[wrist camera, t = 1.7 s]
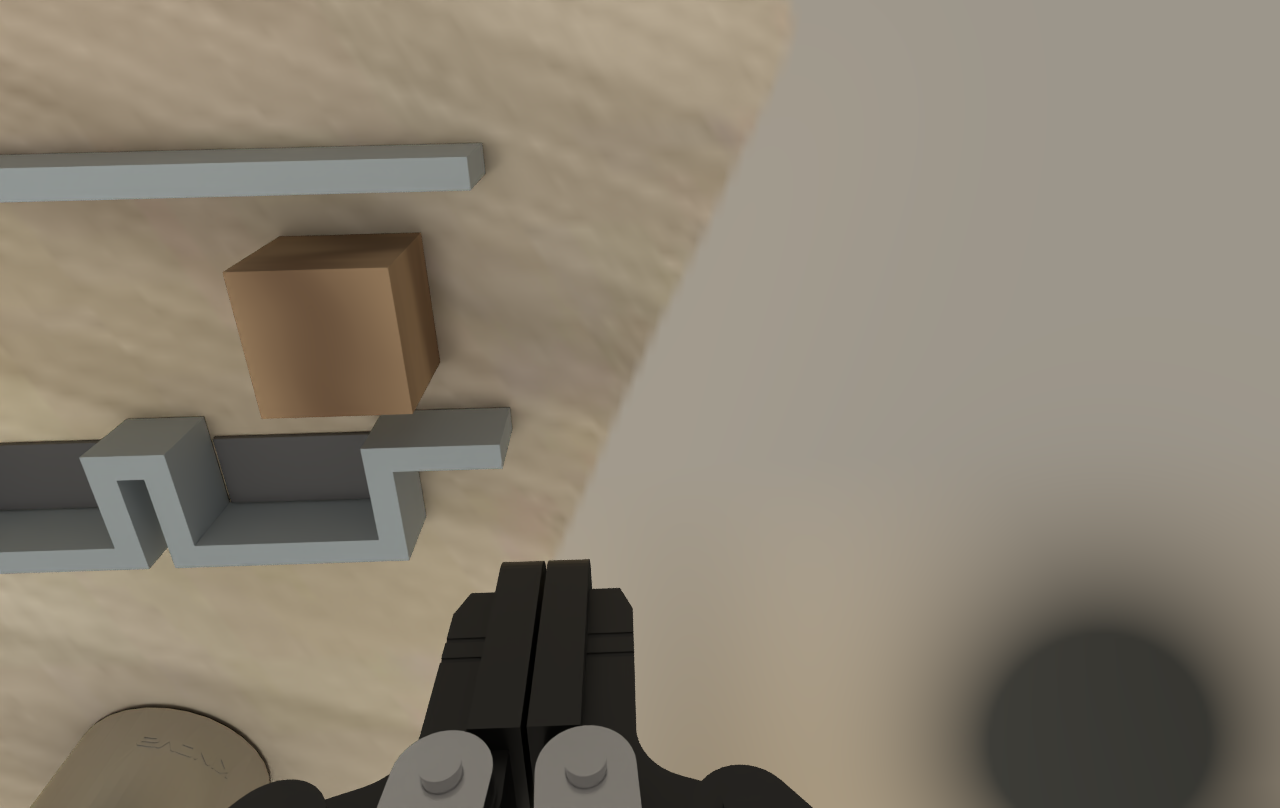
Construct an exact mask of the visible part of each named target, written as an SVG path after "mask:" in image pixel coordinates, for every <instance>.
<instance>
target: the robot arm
mask: <svg viewBox="0 0 1280 808" xmlns="http://www.w3.org/2000/svg"><path fill="white" fill-rule="evenodd" d="M633 640H634V638H633V609H632V607H631V605H630V603H629V602H628V600H627V599H626V597H625V595H624V594H623V592H622V591H621V589H620V588H608V589H592V580H591V565H590V559H584V560H554V561H548V564H547V571H546V564H545V561H529V562H503V563H502V565H501V568H500V572H499V577H498V582H497V586H496V591H495V592H494V593H471V594H470V595H469V597H468V598H467V599H466V600H465V601H464V603H463V604H462V605H461V606H460V607H459V609H458V610H457V611H456V612H455V613H454V614H453V618H452V622H451V625H450V629H449V632H448V636H447V643H445V647H444V651H443V654H442V658H441V659H442V661H441V663H440V665H439V669H438V672H437V676H436V680H435V683H434V687H433V691H432V694H431V698H430V701H429V705H428V709H427V712H426V716H425V720H424V723H423V727H422V731H421V734H420V737H419V740H418V741H416V742H415V743H413V744H412V745H411V746H409V747H408V748H407V749H406V750H405V751H404V752H403V753H402V754H401V755H400V756H399V758H398V759H397V761H396V762H395V764H394V766H393V768H392V770H391V772H390V774H389V775H388V776H386V777H385V778H383V779H381V780H379V781H377V782H375V783H373V784H371V785H368V786H366V787H363V788H360V789H357V790H354V791H350V792H347V793H344V794H341V795H338V796H335V797H332V798H329V799H326V800H325V799H324V797H323V795H322V793H321V792H320V791H319V790H318V788H316V787H315V786H314V785H312V784H310V783H308V782H305V781H301V780H281V781H276V782H272V783H269V774H268V772H267V769H266V766H265V763H264V762H263V760H262V759H261V757H260V756H259V754H258V753H257V751H256V750H255V749H254V748H253V747H252V746H251V745H250V744H249V743H248V742H247V741H246V740H245V739H244V738H243V737H241V736H240V735H238V734H237V733H235V732H234V731H232V730H231V729H229V728H228V727H226V726H224V725H222V724H220V723H218V722H216V721H214V720H211V719H209V718H207V717H204V716H200V715H197V714H194V713H191V712H187V711H181V710H175V709H169V708H139V709H131V710H125V711H122V712H119V713H116V714H113V715H109V716H108V717H106V718H104V719H102V720H101V721H99V722H97V723H96V724H94V725H93V726H92V727H91V728H90V729H89V731H88V732H87V733H86V734H85V735H84V736H83V737H82V739H81V740H80V741H79V743H78V744H77V745H76V747H75V748H74V749H73V751H72V752H71V753H70V755H69V756H68V758H67V759H66V760H65V762H64V763H63V764H62V766H61V767H60V768H59V770H58V771H57V772H56V774H55V775H54V776H53V778H52V779H51V780H50V782H49V783H48V784H47V786H46V787H45V788H44V790H43V791H42V792H41V794H40V795H39V796H38V798H37V799H36V800H35V802H34V803H33V804H32V805H31V806H30V808H812V807H811V806H810V805H809V804H808V803H807V802H805V801H804V800H803V799H802V798H801V797H800V796H799V795H798V794H796V793H795V792H794V791H793V790H792V789H791V788H790V787H788V786H787V785H786V784H785V783H784V782H783V781H782V780H780V779H779V778H777V777H776V776H775V775H773V774H772V773H770V772H768V771H766V770H764V769H761V768H758V767H754V766H749V765H730V766H727V767H722V768H720V769H718V770H715V771H713V772H712V773H710V774H709V775H707V776H706V778H704V779H703V780H702V781H699V780H696V779H692V778H688V777H684V776H681V775H678V774H675V773H672V772H670V771H668V770H666V769H663V768H662V767H660V766H659V765H657V764H656V763H655V762H654V761H652V760H651V759H650V758H649V757H648V756H647V754H646V753H645V752H644V750H643V749H642V747H641V745H640V743H639V741H638V737H637V733H636V706H635V670H634V641H633Z"/></svg>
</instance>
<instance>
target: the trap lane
mask: <svg viewBox="0 0 1280 808" xmlns="http://www.w3.org/2000/svg"><path fill="white" fill-rule="evenodd" d="M484 174H485V165H484V156H483V146H482V143H460V144H420V145H379V146H338V147H298V148H257V149H217V150H176V151H135V152H95V153H54V154H14V155H0V202H35V201H74V200H113V199H153V198H192V197H231V196H270V195H309V194H348V193H387V192H426V191H465V190H471V189H472V188H473V187H474V186H475V185H476V184H477V182H478V181H479V180H480V179H481V178H482V177H483V175H484ZM511 433H512V422H511V413H510V408H479V409H446V410H415V411H414V413H413V414H397V415H380V417H379V419H378V420H377V422H376V424H375V425H374V427H373V429H372V430H371V432H353V433H320V434H287V435H254V436H222V437H214V438H213V442H214V445H215V449H216V452H217V455H218V459H219V462H220V465H221V469H222V472H223V475H224V479H225V482H226V485H227V489H228V492H229V495H230V499H231V502H229V499H228V495H227V492H226V489H225V485H224V482H223V479H222V475H221V472H220V469H219V465H218V462H217V459H216V456H215V452H214V449H213V446H212V442H211V439H210V436H209V432H208V429H207V426H206V422H205V419H204V417H178V418H145V419H126V420H125V421H124V422H122V423H121V424H120V425H119V426H117V427H116V428H115V429H114V430H113V431H111V432H110V433H109V434H108V435H106V436H105V437H104V438H103V439H101V440H90V441H57V442H24V443H0V574H10V573H41V572H71V571H101V570H132V569H150V568H151V566H152V565H153V564H154V563H155V562H156V560H157V559H158V558H159V557H160V556H161V555H162V553H163V552H164V551H165V550H166V549H167V548H168V549H169V551H170V554H171V557H172V560H173V563H174V565H175V568H193V567H223V566H253V565H284V564H314V563H345V562H375V561H405V560H410V557H411V555H412V552H413V549H414V547H415V544H416V542H417V539H418V536H419V534H420V531H421V529H422V526H423V524H424V521H425V518H426V511H425V506H424V500H423V494H422V488H421V482H420V476H419V471H440V470H472V469H502V468H503V464H504V461H505V457H506V453H507V449H508V445H509V441H510V437H511Z"/></svg>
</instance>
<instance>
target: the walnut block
mask: <svg viewBox="0 0 1280 808" xmlns="http://www.w3.org/2000/svg"><path fill="white" fill-rule="evenodd" d="M223 276H224V280H225V283H226V287H227V291H228V295H229V298H230V302H231V306H232V310H233V313H234V317H235V321H236V325H237V328H238V332H239V336H240V340H241V343H242V347H243V351H244V355H245V358H246V362H247V366H248V370H249V373H250V377H251V381H252V385H253V388H254V392H255V396H256V399H257V403H258V407H259V411H260V414H261V418H262V419H268V418H300V417H332V416H365V415H397V414H413V413H414V411H415V409H416V407H417V405H418V403H419V401H420V399H421V397H422V395H423V394H424V392H425V390H426V388H427V386H428V384H429V382H430V380H431V378H432V376H433V375H434V373H435V371H436V369H437V367H438V365H439V363H440V358H439V351H438V345H437V338H436V331H435V324H434V318H433V311H432V304H431V297H430V291H429V284H428V277H427V270H426V263H425V257H424V250H423V243H422V236H421V233H386V234H351V235H316V236H281V237H278V238H276V239H275V240H273V241H271V242H270V243H268V244H267V245H265V246H263V247H262V248H260V249H259V250H257V251H256V252H254V253H252V254H251V255H249V256H248V257H246V258H244V259H243V260H241V261H240V262H238V263H236V264H235V265H233V266H232V267H230V268H228V269H227V270H225V271H224V272H223Z"/></svg>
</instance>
